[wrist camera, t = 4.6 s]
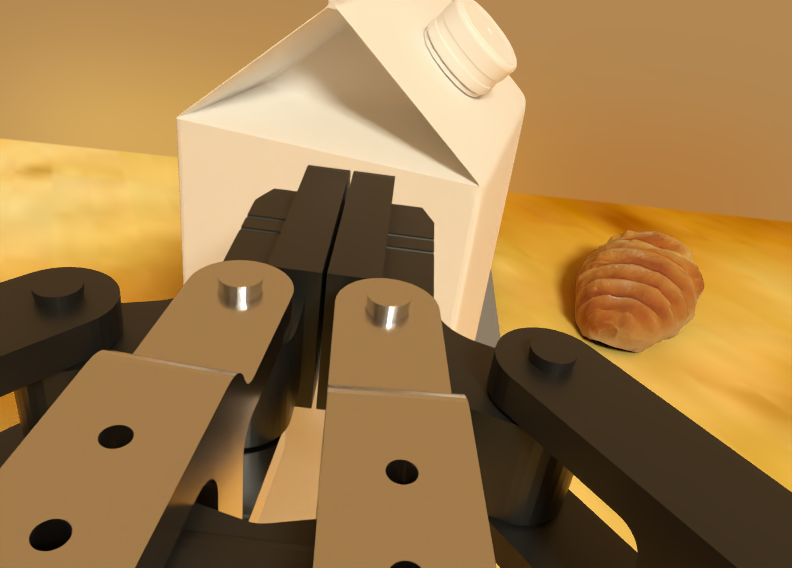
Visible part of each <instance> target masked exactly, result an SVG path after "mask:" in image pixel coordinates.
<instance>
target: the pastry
mask: <svg viewBox="0 0 792 568" xmlns="http://www.w3.org/2000/svg"><path fill="white" fill-rule="evenodd" d="M703 289H704V282H703V278H702V275H701V273H700V271H699V269H698V267H697V266H696V265H695V264H694V262H693V259H692V255H691V252H690V251H689V250H688V249H687V248H686V247H685V246H684V245H683V244H682V243H680V242H678V241H677V240H676V239H675V238H673V237H670V236H667V235H665V234H662V233H660V232H654V231H646V232H641V233H637V232H634V231H629V230H628V231H625V232H624V233H623V234H620V235H617V236H613V237H611V238H610V239H609V241H608V242H607V243H606V244H604V245H603V246H601V247H599V248H598V249H596V250H595V251H593V252H591V253H590V254H589V255H588V256H587V257H586V258H585V261H584V263H583V264H582V267H581V268H580V270H579V271H578V272H577V275H576V295H575V322H576V324H577V325H578V327H579V329H580V332H581V334H582V335H583V336H586V337H587V338H589V339H594V340H598V341H600V342H603V343H605V344H607V345H610V346H613V347H616V348H620V349H624V350H628V351H632V352H642V351H644V350H645V349H647V348H649V347H651V346H652V345H654V344H655V343H658V342H660V341H662V340H665V339H670V338H672V337H674V336H676V335H677V334H678V332H679V331H680V329H681V328H682V327H683V326H684V325H685V324H687V323H688V322H689V321H690V320H691V319H692V318H693V317H694V315H695V307H696V303H697V299H698V298H699V297H700V296H701V294H702V292H703Z"/></svg>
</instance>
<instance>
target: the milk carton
mask: <svg viewBox="0 0 792 568" xmlns="http://www.w3.org/2000/svg"><path fill="white" fill-rule="evenodd" d="M516 66H517V60H516V56H515V53H514V51H513V48H512V47H511V45H510V43H509V41H508V40H507V38H506V36H505V35H504V33H503V32H502V30H501V29H500V28H499V26H498V25H497V24H496V23H495V21H494V20H493V19H492V18H491V17H490V15H489V14H488V13H487V12H486V11H485V10H484V9H483V8H482V7H481V6H480V5H479V4H478V3H477V2H475V1H474V0H453V1H452V0H328V6H327V7H326V8H325V9H323V10H322V11H321V12H319V13H318V14H317V15H316V16H314V17H312V18H311V19H310V20H308V21H307V22H306V23H304V24H303V25H301V26H300V27H299V28H297V29H296V30H295V31H293V32H292V33H291V34H289V35H288V36H286V37H285V38H284V39H282V40H281V41H280V42H278V43H277V44H276V45H274V46H273V47H271V48H270V49H269V50H267V51H266V52H265V53H263V54H262V55H261V56H259V57H258V58H256V59H255V60H254V61H252V62H251V63H250V64H248V65H247V66H246V67H244V68H243V69H242V70H240V71H239V72H237V73H236V74H235V75H233V76H232V77H230V78H229V79H228V80H226V81H225V82H224V83H222V84H221V85H220V86H218V87H217V88H216V89H214V90H213V91H211V92H210V93H209V94H207V95H206V96H205V97H203V98H202V99H200V100H199V101H198V102H196V103H195V104H194V105H192V106H191V107H189V108H188V109H187V110H185V111H184V112H183V113H181V114H180V115H179V116H177V117H176V120H177V140H178V165H179V189H180V214H181V238H182V262H183V285H184V284H185V283H186V281H187V280H188V279H189V278H190V276H191V275H192V274H193V273H195V272H196V271H198V270H199V269H201V268H203V267H205V266H208V265H211V264H214V263H218V262H223V260H224V259H225V257H226V255H227V253H228V251H229V249H230V247H231V245H232V243H233V241H234V239H235V237H236V235H237V234H238V232H239V230H241V226H242V224H243V222H244V220H245V218H246V217H247V214H248V212H249V210H250V209H251V207H252V205H253V203H254V201H255V199H257V198H259V197H260V196H262V195H264V194H265V193H267V192H269V191H270V190H272V189H274V188H275V189H283V190H291V191H298V188H299V186H300V183H301V181H302V178H303V176H304V173H305V171H306V169H307V166H308V165H314V166H321V167H329V168H337V169H344V170H350V171H351V178H350V183H351V179H352V175H353V172H354V171H360V172H368V173H375V174H383V175H390V176H395V183H394V191H393V199H392V204H399V205H406V206H414V207H421V208H423V209H424V210H425V212H426V213H427V214H428V216H429V217H430V218H431V219H432V221H433V222H434V299H435V300H436V302H437V304H438V305H439V309H440V315H441V320H442V321H443V322H444V323H445V324H446V325H447V326H448V327H450V328H451V329H452V330H454V331H455V332H457V333H458V334H460V335H462V336H464V337H466V338H469V339H471V340H474V341H475V338H476V333H477V329H478V324H479V320H480V315H481V311H482V306H483V301H484V297H485V292H486V288H487V283H488V278H489V274H490V269H491V265H492V260H493V256H494V251H495V246H496V242H497V237H498V233H499V228H500V224H501V219H502V214H503V210H504V205H505V201H506V196H507V191H508V187H509V182H510V178H511V173H512V169H513V164H514V159H515V155H516V150H517V146H518V141H519V136H520V131H521V127H522V122H523V117H524V112H525V105H526V101H525V97H524V95H523V94H522V92H521V90H520V89H519V88H518V87H517V85H516V84H515V82H514V81H513V80H512V79H511V77H510V76H509V74H511V73H512V72H513V71H514V70H515V68H516ZM318 379H319V377H318ZM317 391H318V382H317V386H316V390H315V395H314V399H313V404H312V408H311V409H310V408H302V407H294V410H293V414H292V418H291V421H290V424H289V426H288V427H287V429H286V443H285V448H284V452H283V454H282V457H281V460H280V463H279V465H278V468H277V471H276V474H275V476H274V479H273V482H272V485H271V487H270V490H269V493H268V496H267V498H266V501H265V504H264V507H263V509H262V512H261V515H260V518H259V520H258V523H276V522H287V521H298V520H309V519H316V509H317V497H318V486H319V474H320V462H321V451H322V440H323V429H324V419H325V410H320V409H316V403H317Z"/></svg>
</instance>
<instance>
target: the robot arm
mask: <svg viewBox="0 0 792 568" xmlns="http://www.w3.org/2000/svg"><path fill="white" fill-rule="evenodd" d="M350 178H351V171H350V170H344V169H337V168H329V167H321V166H314V165H308V166H307V169H306V171H305V173H304V176H303V178H302V181H301V183H300V186H299V188H298V191H291V190H283V189H275V188H274V189H272V190H270V191H269V192H267V193H265V194H264V195H262V196H260V197H259V198H257V199H255V201H254V203H253V205H252V207H251V209H250V210H249V212H248V214H247V217H246V218H245V220H244V222H243V224H242V226H241V230H239V232H238V234H237V235H236V237H235V239H234V241H233V243H232V245H231V247H230V249H229V251H228V253H227V255H226V257H225V259H224V260H223V262H218V263H214V264H211V265H208V266H205V267H203V268H201V269H199V270H198V271H196V272H195V273H193V274H192V275H191V276H190V278H189V279H188V280H187V281H186V283H185V284H184V285H183V287H182V288H181V290H180V291H179V292H178V294H177V295H176V296H175V298H174V299H169V300H161V301H148V302H132V303H121V296H120V289H119V286H118V284H117V283H116V282H115V281H114V280H113V279H112V278H111V277H109V276H108V275H106V274H104V273H101V272H99V271H95V270H92V269H86V268H77V267H60V268H51V269H45V270H40V271H36V272H33V273H29V274H26V275H23V276H20V277H17V278H14V279H11V280H7V281H4V282H1V283H0V397H1V396H4V395H6V394H8V393H11V392H13V391H14V394H15V399H16V403H17V408H18V413H19V418H20V423H19V424H17V425H15V426H13V427H10V428H8V429H6V430H4V431H2V432H0V568H496V563H497V565H498V566H499V567H500V568H792V492H790V491H789V490H788V489H786V488H785V487H784V486H782V485H781V484H779V483H778V482H777V481H775V480H774V479H772V478H771V477H770V476H768V475H767V474H766V473H764V472H763V471H761V470H760V469H759V468H757V467H756V466H754V465H753V464H752V463H750V462H749V461H748V460H746V459H745V458H743V457H742V456H741V455H739V454H738V453H737V452H735V451H734V450H732V449H731V448H730V447H728V446H727V445H725V444H724V443H723V442H721V441H720V440H719V439H717V438H716V437H714V436H713V435H712V434H710V433H709V432H707V431H706V430H705V429H703V428H702V427H701V426H699V425H698V424H696V423H695V422H694V421H692V420H691V419H689V418H688V417H687V416H685V415H684V414H683V413H681V412H680V411H678V410H677V409H676V408H674V407H673V406H672V405H670V404H669V403H667V402H666V401H665V400H663V399H662V398H660V397H659V396H658V395H656V394H655V393H654V392H652V391H651V390H649V389H648V388H647V387H645V386H644V385H642V384H641V383H640V382H638V381H637V380H636V379H634V378H633V377H631V376H630V375H629V374H627V373H626V372H624V371H623V370H622V369H620V368H619V367H618V366H616V365H615V364H613V363H612V362H611V361H609V360H608V359H607V358H605V357H604V356H602V355H601V354H600V353H598V352H597V351H595V350H594V349H593V348H591V347H590V346H589V345H587V344H585V343H584V342H582V341H581V340H579V339H577V338H575V337H573V336H570V335H568V334H565V333H562V332H559V331H556V330H551V329H546V328H520V329H516V330H513V331H510V332H508V333H506V334H505V335H503V336H502V337H501V338H500V339H499V340H498V342H497V344H496V347H495V348H494V347H491V346H488V345H485V344H482V343H479V342H476V341H474V340H471V339H469V338H466V337H464V336H462V335H460V334H458V333H457V332H455V331H454V330H452V329H451V328H450V327H448V326H447V325H446V324H445V323H444V322H443V321H442V320H441V315H440V309H439V305H438V304H437V302H436V300H435V299H434V222H433V221H432V219H431V218H430V217H429V216H428V214H427V213H426V212H425V210H424V209H423V208H421V207H414V206H406V205H399V204H392V199H393V191H394V183H395V176H390V175H383V174H375V173H368V172H360V171H354V172H353V175H352V179H351V183H350ZM318 377H319V379H318ZM317 382H318V391H317V403H316V409H320V410H325V419H324V429H323V440H322V451H321V462H320V474H319V486H318V497H317V509H316V519H309V520H298V521H287V522H276V523H258V520H259V518H260V515H261V512H262V509H263V507H264V504H265V501H266V498H267V496H268V493H269V490H270V487H271V485H272V482H273V479H274V476H275V474H276V471H277V468H278V465H279V463H280V460H281V457H282V454H283V452H284V448H285V443H286V429H287V427H288V426H289V424H290V421H291V418H292V414H293V410H294V407H302V408H310V409H311V408H312V404H313V399H314V395H315V390H316V386H317ZM573 475H575V476H576V477H577V478H578V479H579V480H580V481H581V482H582V483H583V484H585V485H586V486H587V487H588V488H589V489H590V490H591V491H592V492H594V493H595V494H596V495H597V496H598V497H599V498H600V499H601V500H602V501H604V502H605V503H606V504H607V505H608V506H609V507H610V508H611V509H612V510H614V511H615V512H616V513H617V514H618V515H619V516H620V517H621V518H622V519H623V520H624V521H625V523H626V524H627V525H628V527H629V528H630V530H631V532H632V534H633V536H634V538H635V541H636V544H637V550H638V553H637V552H636V551H635V550H634V549H633V548H632V547H631V546H630V545H629V544H627V543H626V542H625V541H624V540H623V539H622V538H621V537H620V536H619V535H618V534H617V533H616V532H614V531H613V530H612V529H611V528H610V527H609V526H608V525H607V524H606V523H605V522H604V521H603V520H601V519H600V518H599V517H598V516H597V515H596V514H595V513H594V512H593V511H592V510H591V509H589V508H588V507H587V506H586V505H585V504H584V503H583V502H582V501H581V500H580V499H579V498H578V497H576V496H575V495H574V494H573V493H572V492H571V491H570V490H569V486H570V483H571V480H572V477H573Z"/></svg>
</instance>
